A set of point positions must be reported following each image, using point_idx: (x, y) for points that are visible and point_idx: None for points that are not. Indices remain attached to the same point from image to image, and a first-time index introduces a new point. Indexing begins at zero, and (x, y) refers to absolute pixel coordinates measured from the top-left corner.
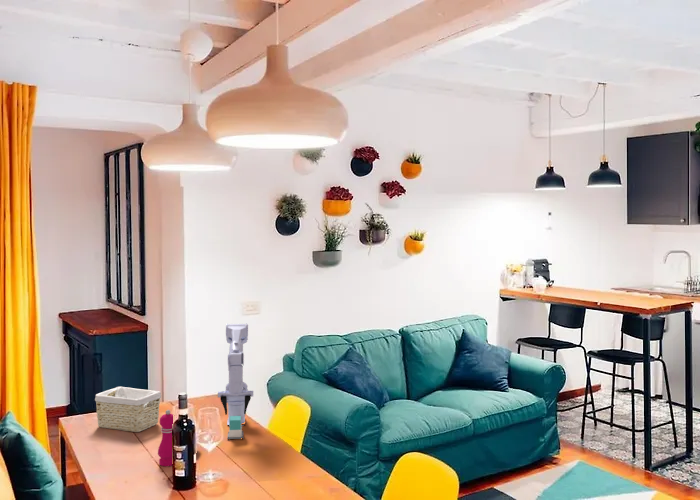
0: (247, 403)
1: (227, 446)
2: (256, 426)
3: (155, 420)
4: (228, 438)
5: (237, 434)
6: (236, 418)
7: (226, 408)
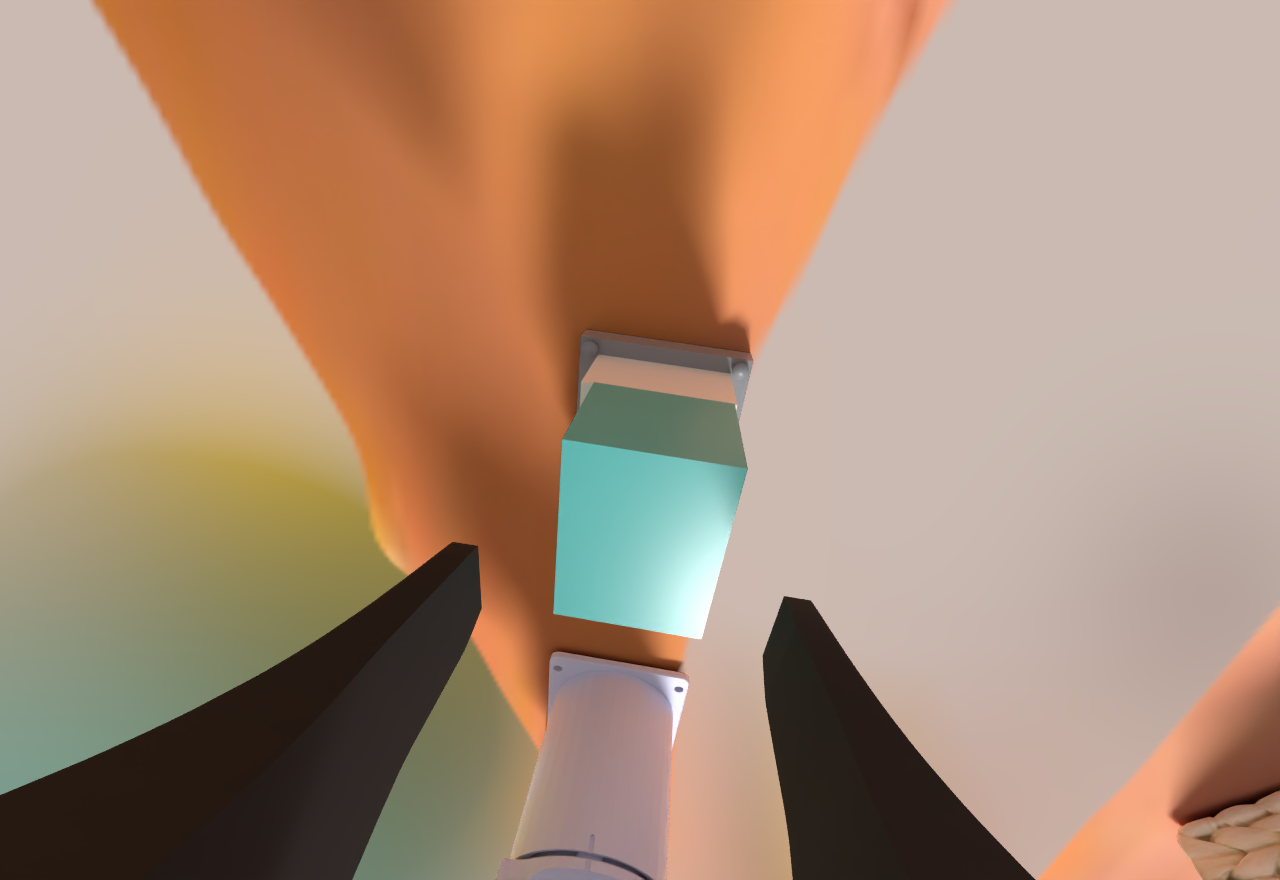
0: (229, 707)
1: (795, 119)
2: None
3: (1232, 857)
4: (740, 357)
5: (638, 370)
6: (622, 530)
7: (831, 699)
